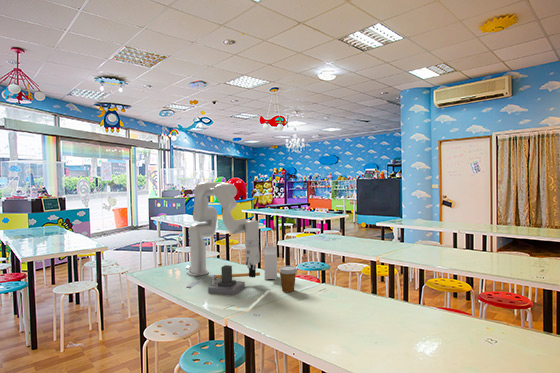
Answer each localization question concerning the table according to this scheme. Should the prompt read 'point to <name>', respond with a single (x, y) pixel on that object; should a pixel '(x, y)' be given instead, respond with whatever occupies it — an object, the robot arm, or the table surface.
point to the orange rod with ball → (235, 275)
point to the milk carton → (270, 262)
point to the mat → (195, 283)
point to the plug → (226, 277)
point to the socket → (225, 288)
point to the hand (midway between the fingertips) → (252, 276)
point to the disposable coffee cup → (287, 278)
